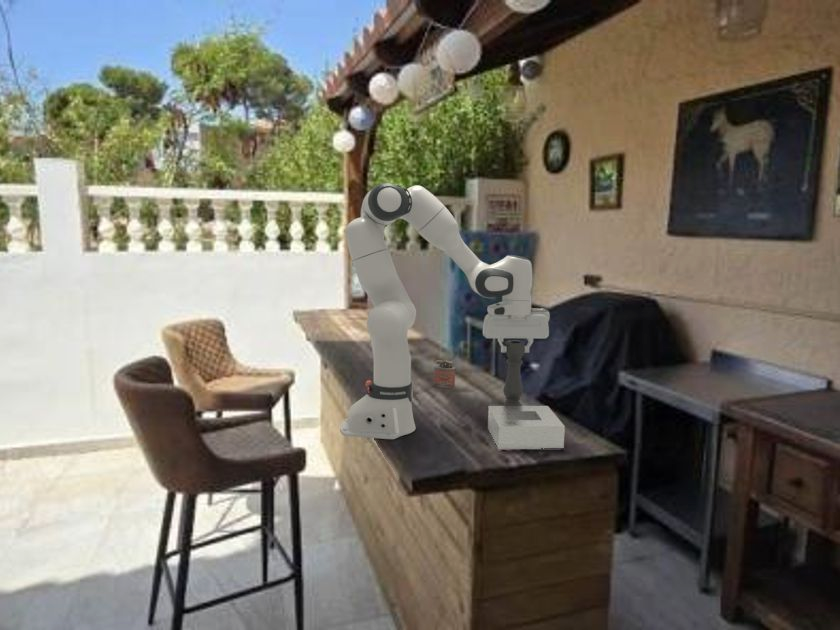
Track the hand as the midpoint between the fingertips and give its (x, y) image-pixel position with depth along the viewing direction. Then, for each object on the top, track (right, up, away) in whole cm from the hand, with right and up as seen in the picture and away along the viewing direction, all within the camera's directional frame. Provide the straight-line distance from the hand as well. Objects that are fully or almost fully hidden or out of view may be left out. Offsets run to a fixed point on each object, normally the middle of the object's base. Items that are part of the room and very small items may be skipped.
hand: (514, 352), depth 186 cm
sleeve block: (0, -24, -13) cm, 28 cm away
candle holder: (0, -22, +3) cm, 22 cm away
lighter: (-20, -16, +40) cm, 47 cm away
